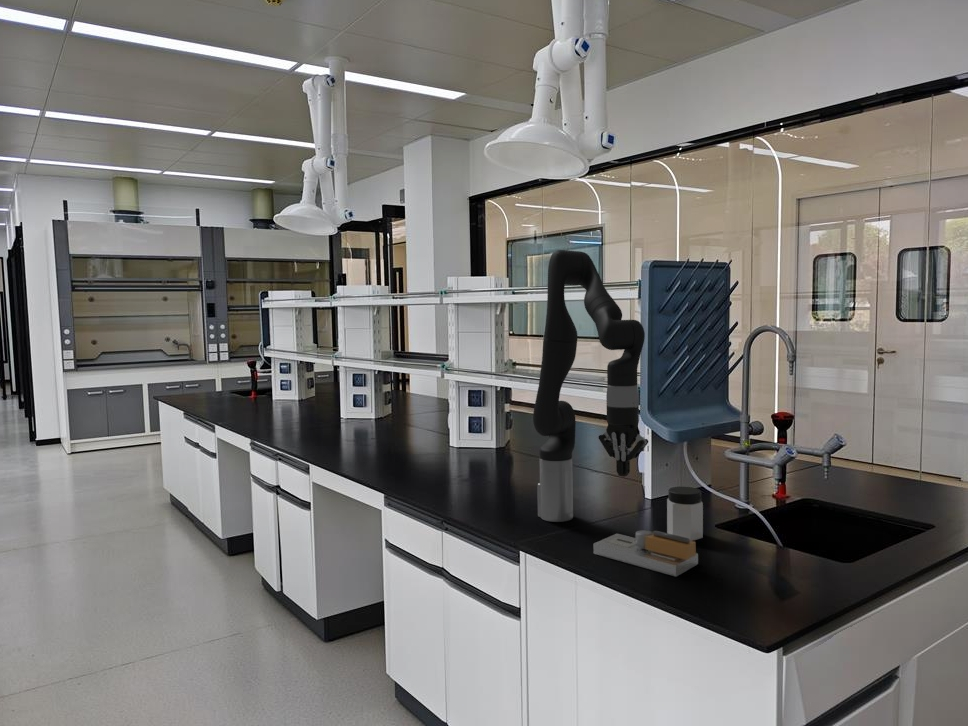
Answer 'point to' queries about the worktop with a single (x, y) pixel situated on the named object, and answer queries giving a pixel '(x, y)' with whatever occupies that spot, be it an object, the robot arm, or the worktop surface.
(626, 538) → the plate
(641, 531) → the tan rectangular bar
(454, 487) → the worktop surface
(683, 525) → the jar
